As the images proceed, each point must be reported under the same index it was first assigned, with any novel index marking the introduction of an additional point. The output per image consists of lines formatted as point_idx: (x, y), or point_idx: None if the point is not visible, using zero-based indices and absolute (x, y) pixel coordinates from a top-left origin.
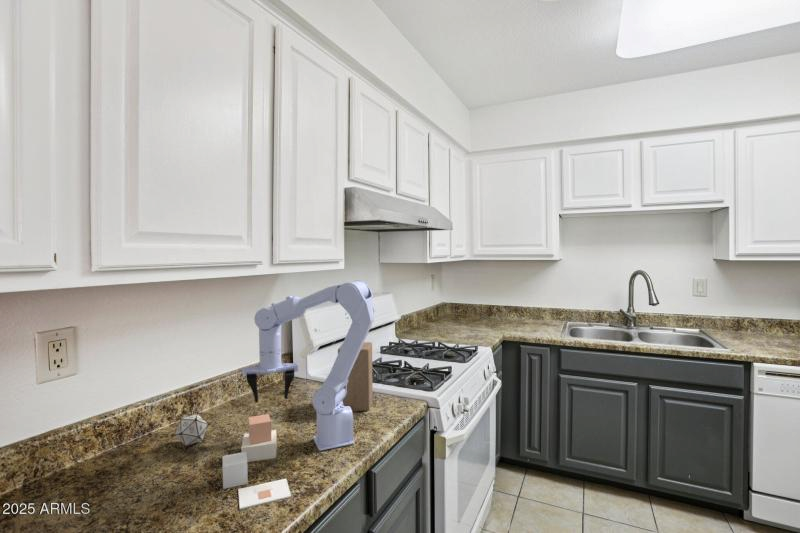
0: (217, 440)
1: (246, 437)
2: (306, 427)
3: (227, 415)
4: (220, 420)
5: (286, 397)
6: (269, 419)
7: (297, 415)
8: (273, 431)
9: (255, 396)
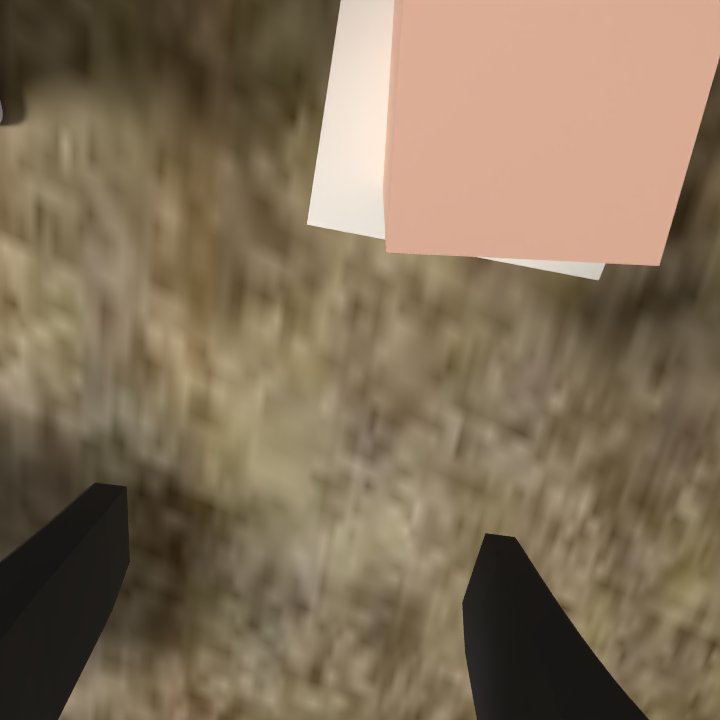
0: (695, 432)
1: None
2: (63, 353)
3: None
4: None
5: (92, 491)
6: (417, 17)
7: None
8: (339, 194)
9: (539, 594)
